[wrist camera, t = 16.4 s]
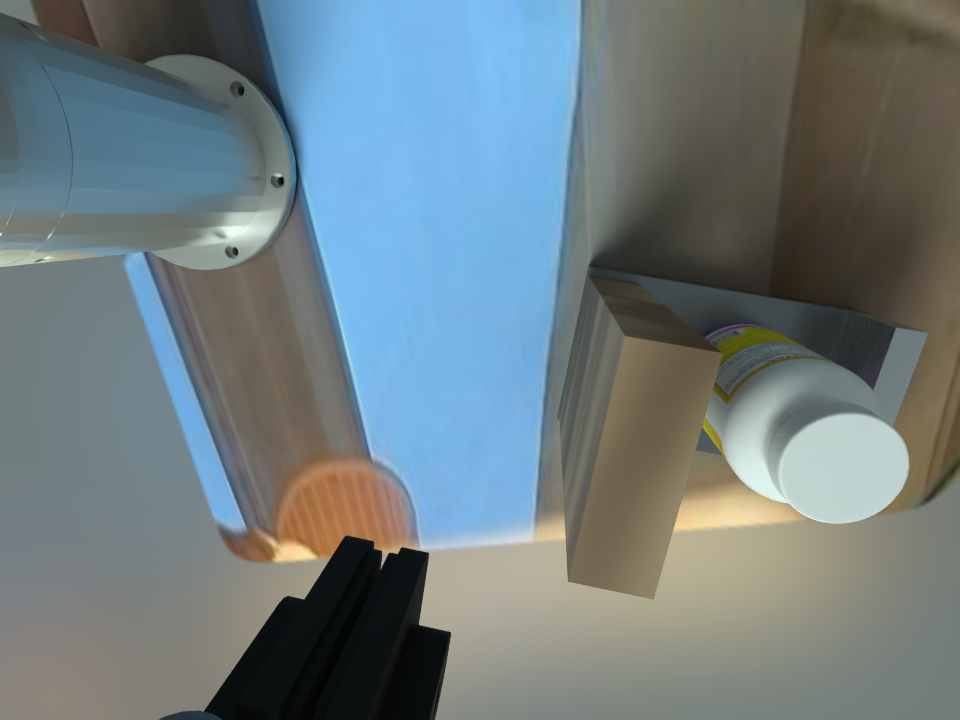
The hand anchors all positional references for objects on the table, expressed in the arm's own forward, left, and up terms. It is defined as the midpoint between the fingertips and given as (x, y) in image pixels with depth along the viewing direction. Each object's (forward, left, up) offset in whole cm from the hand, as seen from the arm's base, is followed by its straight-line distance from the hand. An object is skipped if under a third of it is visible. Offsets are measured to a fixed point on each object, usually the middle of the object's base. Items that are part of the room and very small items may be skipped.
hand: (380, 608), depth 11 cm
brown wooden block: (+6, 0, -25) cm, 25 cm away
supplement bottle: (+15, 0, -25) cm, 29 cm away
